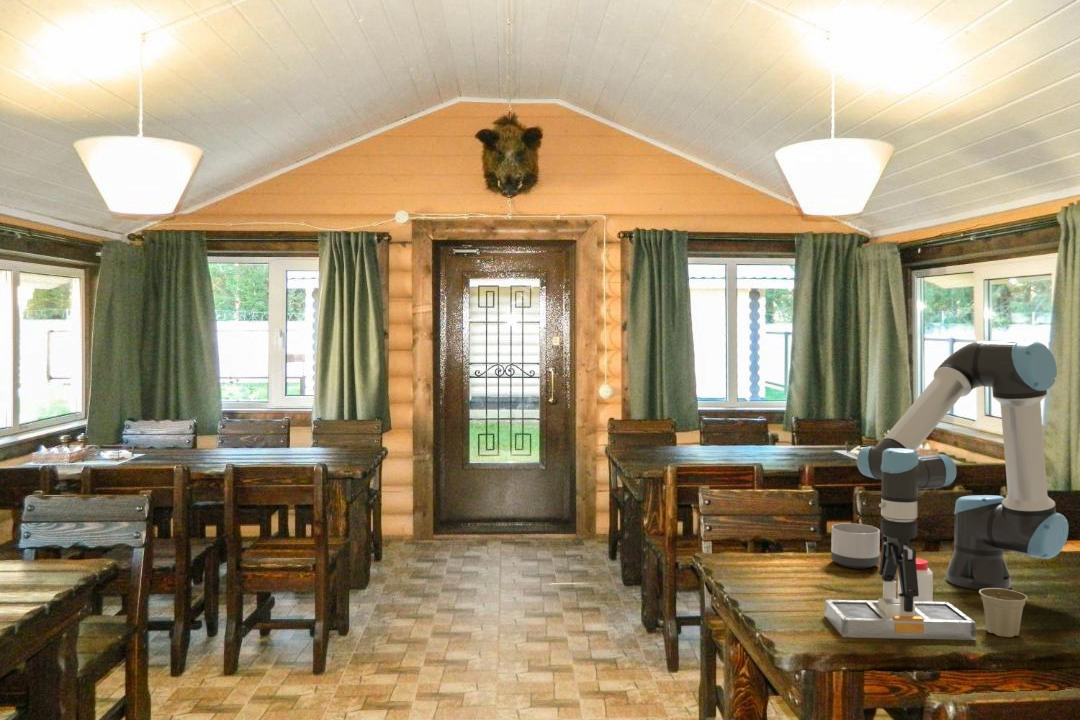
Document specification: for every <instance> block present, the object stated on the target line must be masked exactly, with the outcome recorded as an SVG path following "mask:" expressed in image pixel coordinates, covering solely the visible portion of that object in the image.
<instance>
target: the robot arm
mask: <svg viewBox="0 0 1080 720" xmlns="http://www.w3.org/2000/svg"><path fill="white" fill-rule="evenodd" d="M1057 368H1058V367H1057V362H1056V359H1055V356H1054V354H1053V353H1052V351H1051V349H1049V347H1047V345H1045V344H1044V343H1041V342H1039V341H1029V340H989V339H988V340H987V339H986V340H977V341H973V342H971V343H969V344H965V346H962V347H961V348H959V349H958V350H956V351H954V352H953V353H952V354H950V355H949V356H948V357H946V359H945V360H944V361H943V362H941V364H940V365H939V366H937V368H936V369H935V370H934V372H933V380H932V381H931V382H930V383H929V384H928V385H927V386H926V388H925V389H924V390H923V392H922V393H920V395H919V396H918V397H917V399H915V400H914V402H913V403H912V404H911V405H910V407H909V408H908V409H907V410H906V411H905V412H904V413H903V415H901V417H900V419H899V420H898V421H897V422H896V423H895V424H894V425H893V427H892V428H891V429H890V430H889V432H888V433H886V435H885V436H884V437H883V438H882V440H881V441H880V442H878V444H877V446H874V445H871V446H865V447H862V448H861V449H860V450H859V452H858V454H857V456H856V457H857V458H856V465H857V468H858V471H859V472H860V473H861V474H862V475H863V476H866V477H868V478H872V479H874V480H881V482H880V483H881V494H880V496H881V497H880V499H881V501H880V502H881V503H878V507H879V508H880V515H881V516H882V517H881V519H880V534H881V535H882V536H881V537H882V538H881V542H882V544H881V553H880V554H881V555H880V560H879V569H878V570H879V571H878V573H879V575H880V576H881V579H882V598H886V599H897V596H898V595H899V597H900V616H914V597H915V596H919V592H918V581H917V570H916V558H917V550H916V549H912V548H911V546H910V540H911V539H914V538H917V536H918V521H917V520H916V519H918V516H919V515H918V513H919V512H918V511H919V510H918V507H919V506H918V505H919V499H918V491H921V490H928V489H940V488H942V487H947V486H950V485H952V484H953V483H954V481H955V480H956V477H957V467H956V464H955V462H954V460H953V459H952V458H951V457H950V456H948V455H946V454H942V453H941V454H938V453H932V454H924V453H918V451H917V450H918V449H919V448H920V446H921V445H922V444H923V442H924V441H926V439H927V438H928V437H929V436H930V434H931V433H932V432H933V430H934V429H935V428H936V427H937V426H938V425H939V424H940V422H941V421H942V420H943V419H944V417H945V416H946V415H947V414H948V413H949V411H951V409H952V408H953V407H954V405H956V403H957V402H958V400H959V399H960V398H961V397H962V398H963V397H966V396H968V395H969V394H970V393H971V392H972V390H973V389H977V388H980V387H981V388H982V387H988V388H991V389H992V398H994V400H996V401H997V402H999V404H1000V414H1001V425H1002V427H1001V429H1002V438H1003V449H1004V450H1003V451H1004V453H1003V454H1004V464H1005V465H1004V466H1005V475H1006V477H1005V478H1006V488H1007V489H1006V490H1007V496H1006V497H1004V496H1002V495H991V494H990V495H988V494H983V495H980V494H978V495H976V494H975V495H966V496H961V497H958V498H957V499H956V501H955V504H954V505H955V506H954V507H955V508H954V512H953V514H954V538H953V539H954V542H953V543H954V546H953V549H954V550H953V553H952V556H951V559H950V561H949V564H948V567H947V569H946V581H948V583H950V584H952V585H954V586H958V587H962V588H965V589H971V590H977V591H979V590H981V589H985V588H1001V589H1008V590H1010V588H1011V585H1012V584H1011V583H1012V581H1011V575H1010V572H1009V569H1008V566H1007V562H1006V561H1005V560H1006V559H1005V554H1004V553H1005V552H1004V551H1007V552H1011V553H1015V554H1019V555H1024V556H1028V557H1029V558H1037V559H1043V560H1049V559H1050V560H1051V559H1052V558H1055V557H1057V556H1058V555H1059V553H1060V552H1062V550H1063V548H1064V546H1065V545H1066V542H1067V539H1068V535H1069V522H1068V519H1067V518H1066V516H1064V514H1061V513H1060V512H1057V510H1056V509H1057V508H1056V502H1055V500H1053V499H1052V498H1051V497H1049V495H1048V485H1047V471H1046V470H1047V469H1046V460H1045V459H1046V458H1045V446H1044V444H1045V443H1044V433H1043V421H1042V420H1043V419H1042V406H1041V401H1043V399H1044V398H1045V397H1047V395H1048V391H1047V390H1049V389H1051V388H1052V387H1053V385H1054V384H1055V382H1056V378H1057V374H1058V373H1057V372H1058V370H1057ZM896 574H897V575H898V574H899V580H900V586H901V592H902V593H900V594H898V593H897V581H898V576H897V575H896ZM909 590H910V591H909Z"/></svg>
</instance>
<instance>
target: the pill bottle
mask: <svg viewBox="0 0 1080 720" xmlns="http://www.w3.org/2000/svg"><path fill="white" fill-rule="evenodd" d="M916 570H917V581H918V592H919V596H915V597H914V601H925V602H934V601H933V599H934V598H933V594H934V593H933V592H934V591H933V590H934V589H933V588H934V587H933V586H934V584H933V583H934V573H933V571H932V570H931V569H930V568H929V561H928V560H926V559H923V558H920V557H919V558H918V557H916ZM909 591H910V590H909ZM900 593H902V592H901V586H900V580H899V574H898V573H897V599H900V597H899V595H898V594H900Z"/></svg>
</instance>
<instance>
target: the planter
mask: <svg viewBox="0 0 1080 720" xmlns="http://www.w3.org/2000/svg"><path fill="white" fill-rule="evenodd" d="M880 534H881V529H879V528H877V527H875V526H873V525H868V524H862V523H846V522H845V523H837V524H833V525H832V526H831V541H830V542H831V548H830V553H831V555H830V559H831V560H832V561H833V562H834V563H836V564H838V565H840V566H842V567H844V568H848V569H854V568H855V569H858V570H863V569H864V570H865V569H871V568H873V567H875V566H878V565H880V545H881V544H880V543H881V542H880V538H881V537H880V536H881V535H880ZM855 569H854V570H855Z"/></svg>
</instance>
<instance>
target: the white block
mask: <svg viewBox="0 0 1080 720" xmlns="http://www.w3.org/2000/svg"><path fill="white" fill-rule="evenodd" d="M877 601H878V610H879V611H881V612H882V613H883V614H884V615H885V616H886V617H887V618H888V619H893V616H900V599H898V598H896V599H886V598H883V597H882V598H878V599H877ZM914 616H915V605H914Z"/></svg>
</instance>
